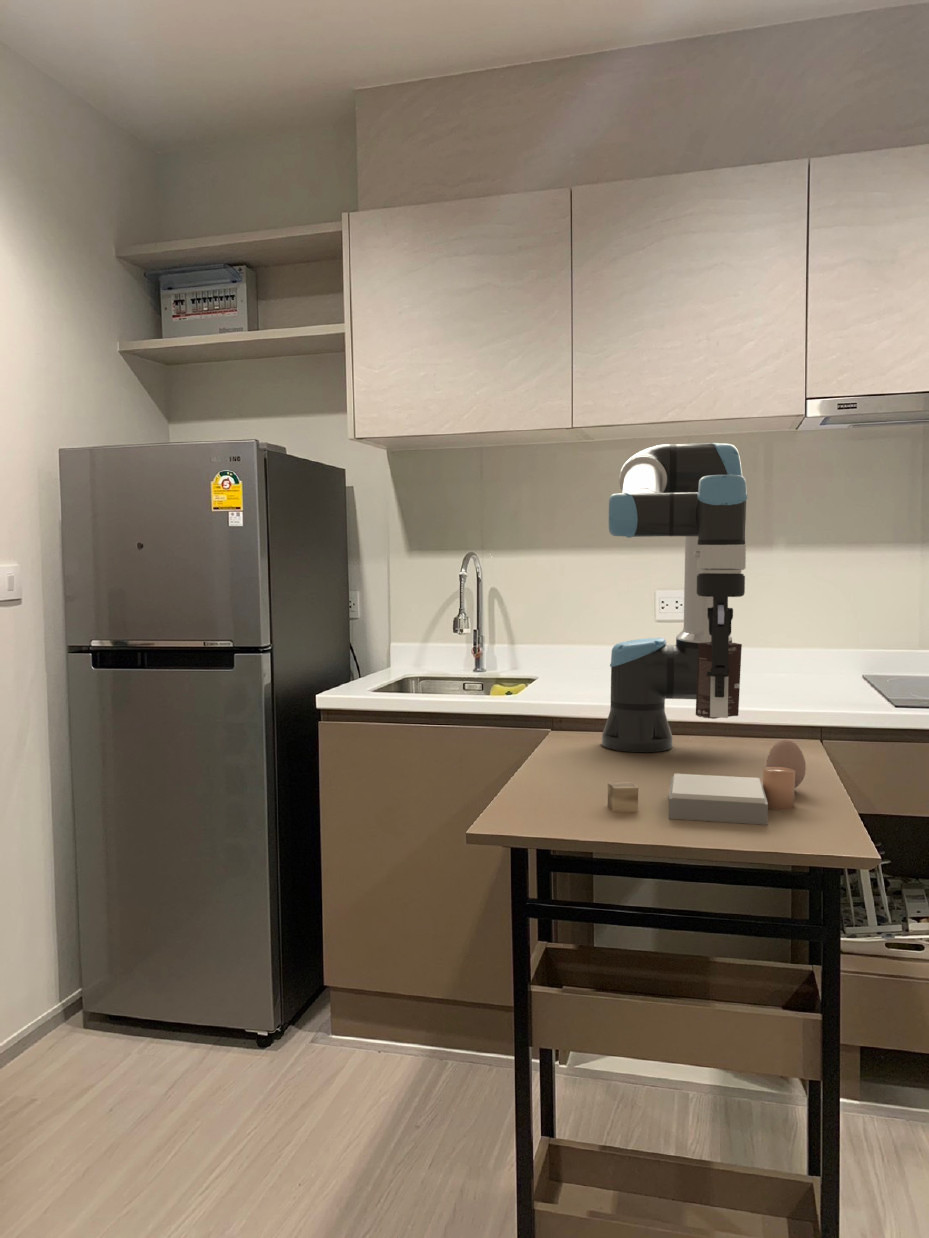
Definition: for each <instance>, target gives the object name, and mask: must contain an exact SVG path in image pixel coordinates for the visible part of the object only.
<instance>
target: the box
mask: <svg viewBox="0 0 929 1238" xmlns="http://www.w3.org/2000/svg"><path fill="white" fill-rule="evenodd" d="M698 645H699V646H698V670H697V692H696V699H695V702H696V703H695V713H694V714H695V716H696V717H699V718H703V719H712V720H713V719H715V720H716V719H718V718H717V717H710V686H711V676H707V672H711V668H712V642H705V643H699V644H698ZM742 645H743V644H742V643H737V642H732V643H731V642H729V651H728V668H729V675H728V717H729V718H730V717H739V712H740V711H739V706H740V686H741V683H740V682H741V666H742V665H741V664H742V650H743V649H742V647H743V646H742Z"/></svg>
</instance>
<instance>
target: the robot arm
mask: <svg viewBox="0 0 929 1238" xmlns="http://www.w3.org/2000/svg"><path fill="white" fill-rule="evenodd" d="M618 481H619V483H618V484H619V487H620V490H621V492H622V493H621V492H620V493H613V494H611V495H609V498H608V500H609V501H608V531H609V534H610V535H612V536H613V537H624V538H625V537H626V538H629V539H630V538H639V537H641V538H642V537H685V538H684V539H685V540H684V587H683V588H684V589H683V593H684V594H683V595H684V597H683V628H682V630H681V631H680V632H679V633H678V634H677V635H676V636H675V644H667V641H666V639H665V638H663V637H653V638H652V637H649V638H641V639H633V640H625V641H621V642H619V643H616V644H615V645H614V646H613V647H612V649H611V655H610V657H611V658H610V665H609V667H610V707H609V708H610V711H609V713H608V717H607V720H606V721H605V726H604V728H603V732H602V734H601V745H602V746H603V747H604V748H607V749H611V750H614V751H620V752H629V753H654V752H656V753H658V752H664V751H668V750H670V749H672V748H673V739H674V738H673V735H672V734H673V733H672V731H671V727H670V724H669V721H668V718H667V715H666V711H665V710H666V708H665V707H666V705H665V704H666V700H667V699H668V700H696V692H697V670H698V646H699V645H698V644H699V643H705V642H712V668H711V672H707V676H711V686H710V717H717V718H716V719H719V718H720V719H722V718H723V719H728V675H729V668H728V651H729V642H731V643H733V637H732V636H731V634H732V620H733V618H734V609H733V607H729V598H740V597H743V596H744V595H745V592H746V591H745V589H746V587H745V584H746V582H745V581H746V575H744V573H742V571H744V570H745V569H746V568H747V567H746V563H747V560H746V558H747V557H746V556H747V552H746V551H747V549H746V547H747V545H746V523H747V499H748V493H747V480H746V478H745V477H744V476H743V470H742V463H741V458H740V453H739V450H738V449H737V447H736V446H735V445H734V444H731V443H719V442H712V443H711V442H710V443H706V442H705V443H682V444H681V443H680V444H679V443H678V444H677V443H676V444H669V443H667V444H658V445H655V446H650V447H648V448H645V449H643V450H640V451H638V452H637V453H635V454H634V455H631V457H630V458H629V459H627V461H625V462H624V464H623V465H622V467H621V470H620V473H619V477H618Z"/></svg>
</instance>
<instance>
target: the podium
mask: <svg viewBox="0 0 929 1238" xmlns="http://www.w3.org/2000/svg"><path fill="white" fill-rule="evenodd" d="M670 778H671V779H670V786H669V793H668V812H667V814H668V815H667V816H668V820H669V819H671V820H683V821H684V820H685V821H700V822H701V821H703V822H716V823H717V822H719V823H733V824H748V825H751V824H752V825H765V826H767V825H769V824H768V823H769V820H768V819H769V808H768V802H767V799H766V795H765V791H764V788H763V781H761V779H760V777H749V776H748V777H745V776H732V775H731V776H728V775H708V774H691V773H690V774H688V773H674V775H673V777H672V776H671V777H670Z"/></svg>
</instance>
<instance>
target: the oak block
mask: <svg viewBox="0 0 929 1238" xmlns="http://www.w3.org/2000/svg"><path fill="white" fill-rule="evenodd" d="M607 807H609V809H610V810H611V812H613V813H630V812H631V813H632V812H636V813H637V812H639V787H638V786H637V785H635V784H634V783H633V782H632V781H622V782H621V781H618V782H617V781H616V782H607Z"/></svg>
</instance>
